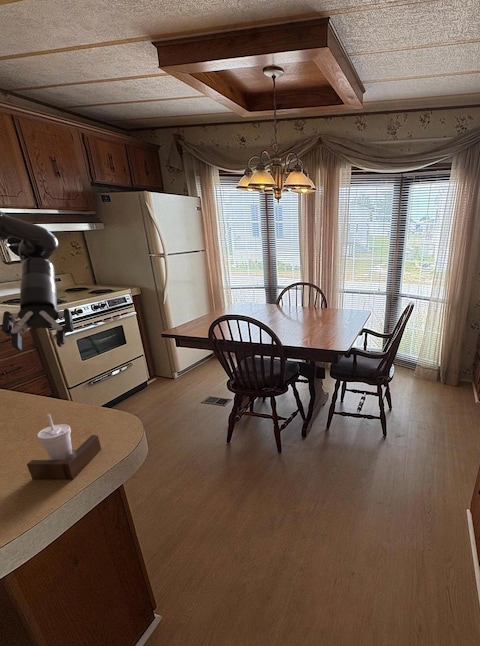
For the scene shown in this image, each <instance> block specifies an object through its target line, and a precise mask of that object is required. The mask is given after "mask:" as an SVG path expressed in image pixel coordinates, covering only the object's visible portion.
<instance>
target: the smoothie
mask: <svg viewBox="0 0 480 646" xmlns="http://www.w3.org/2000/svg"><path fill="white" fill-rule="evenodd" d="M46 416H47V420H48V422H49V426H47V427H45V428H43V429H41V430H40V431H38V433H37V435H36V437H37V440H38V441H39V442H40V443H41V444H42V446H43V449H44V450H45V452H46V453H47V455H48V457H49V459H51V460H66V459H67V458H68V457H69V456H70V455H71V454H72V450H73V447H72V446H73V445H72V440H71V437H72V436H71V432H72V429H71V426H70V425H69V424H66V423H65V424H64V423H63V424H62V423H60V424H54V422H53V419H52V417H51V416H52V415H51V413H47V414H46Z"/></svg>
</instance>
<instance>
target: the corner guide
mask: <svg viewBox="0 0 480 646" xmlns="http://www.w3.org/2000/svg"><path fill="white" fill-rule="evenodd" d="M101 450H102V446H101V443H100V438H99V435H98V434H91V435H90V436H89V437H88V438H87V439H86V440H85V441H84V442H83V443H82V444H81V445H80V446H78V448H76V449H72V454H71V455H70V456H69V457H68V458H67V459H66V460H51V459H50V458H49V459H31V460H30V461H29V462H27V463H26V466H27V469H28V471H29V474H30V477H31V479H32V481H33V480H34V481H40V480H42V481H43V480H48V481H51V480H52V481H53V480H65V481H67V480H68V481H69V480H70V481H71V480H72V481H73V480H74V479H76V478H77V476H78V475H80V473H81V472H82V471H83V470H84V468H85V467H86V466H88V464H89V463H90V462H91V461H92V460H93V459H94V458H95V457H96V456H97V455H98V454H99V452H100V451H101Z"/></svg>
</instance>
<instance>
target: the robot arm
mask: <svg viewBox="0 0 480 646" xmlns="http://www.w3.org/2000/svg"><path fill="white" fill-rule="evenodd" d="M10 238H15V239H18V240H21V241H20V242H19V245H18V256H19V261H20V264H21V281H20V288H19V289H20V292H19V293H20V294H19V296H20V297H19V311H18V312H12V313H11V312H10V311H9V310H6V311H4V312H3V315H2V323H1V332H2V333H3V334H4V335H5V336H7V337H11V343H10V344H11V346H12V347H13V349H16V351H22V350H23V347H22V346H23V343H22V341H23V338H22V336H23V335H24V334H25V333H28V332H29V331H30V330H31V329H33V330H35V329H48V328H49V327H51V328H53V330H55V336H56V337H55V341H56V345H57V347H58V348H62V347H63V345H65V344H66V334H67V333H73V332H74V330H75V329H74V321H73V315H72V313H71V311H70V309H68V308H64V309H63V310H58V291H57V290H58V289H57V283H56V271H55V266H54V264H53V263H52V261H50V259H51V258H52V256H53V254H54V253H55V252H56V250H57V249H58V247H59V240H58V238H57V237H56V235H54V233H52V232H51V231H50V230H49V229H47V228H45V227H43V226H41V225H38V224H36V223H32V222H29V221H25V220H23V219H19V218H16V217H13V216H11V215H8V214H7V213H5V212H3V211H1V210H0V241H7V240H9V239H10ZM59 317H61V318H62V319H63V320H64V325H63V326H62V325H60V323H58V322H57V320H58V319H59ZM18 319H20V320H19V321H17V320H18ZM14 323H16V325H15V326H14Z"/></svg>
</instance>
